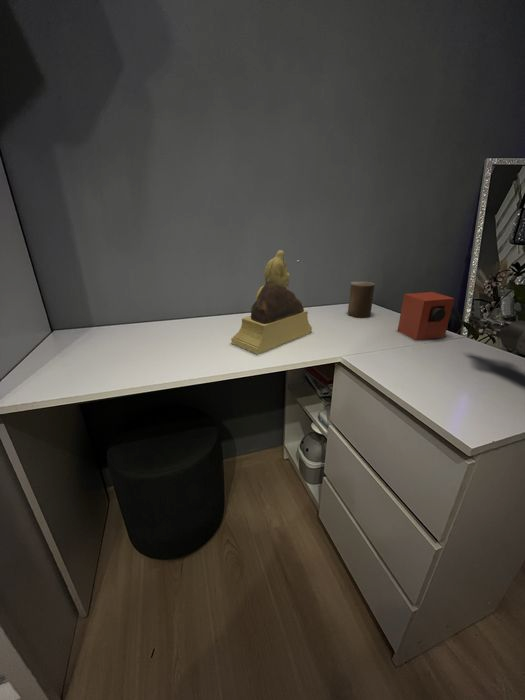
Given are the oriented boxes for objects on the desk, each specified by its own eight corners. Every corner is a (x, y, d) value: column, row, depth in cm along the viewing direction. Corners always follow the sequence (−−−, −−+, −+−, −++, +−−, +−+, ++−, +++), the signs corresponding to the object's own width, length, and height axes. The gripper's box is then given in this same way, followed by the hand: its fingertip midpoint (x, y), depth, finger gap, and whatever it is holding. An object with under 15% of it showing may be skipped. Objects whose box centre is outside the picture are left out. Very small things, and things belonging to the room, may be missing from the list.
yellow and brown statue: (286, 324, 120) (288, 246, 108) (311, 332, 112) (316, 248, 100) (231, 343, 103) (226, 252, 90) (257, 354, 94) (255, 255, 82)
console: (444, 336, 106) (454, 298, 101) (415, 340, 104) (424, 300, 98) (424, 327, 115) (432, 291, 109) (397, 330, 112) (404, 294, 107)
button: (443, 321, 101) (446, 308, 99) (432, 322, 100) (435, 309, 98) (439, 319, 103) (442, 307, 101) (428, 320, 102) (431, 308, 100)
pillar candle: (367, 319, 125) (372, 283, 119) (344, 315, 130) (348, 281, 124) (372, 313, 133) (377, 279, 127) (351, 310, 138) (354, 277, 131)
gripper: (504, 356, 74) (449, 332, 89) (545, 351, 77) (485, 328, 92) (515, 328, 71) (455, 308, 86) (557, 323, 73) (492, 304, 89)
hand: (470, 318), depth 89 cm, fingers closed
